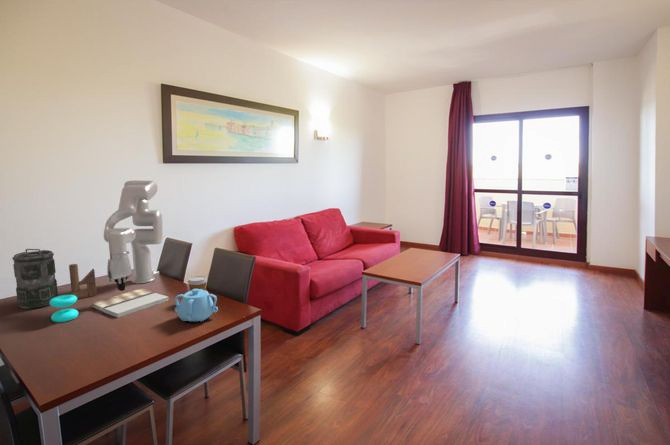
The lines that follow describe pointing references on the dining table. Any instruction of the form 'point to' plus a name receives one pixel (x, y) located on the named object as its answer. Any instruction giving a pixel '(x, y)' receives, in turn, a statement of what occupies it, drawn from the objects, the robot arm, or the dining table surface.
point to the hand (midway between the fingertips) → (121, 290)
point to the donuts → (65, 313)
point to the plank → (119, 298)
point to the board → (135, 304)
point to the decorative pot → (195, 305)
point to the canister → (35, 278)
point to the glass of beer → (197, 282)
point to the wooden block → (88, 280)
